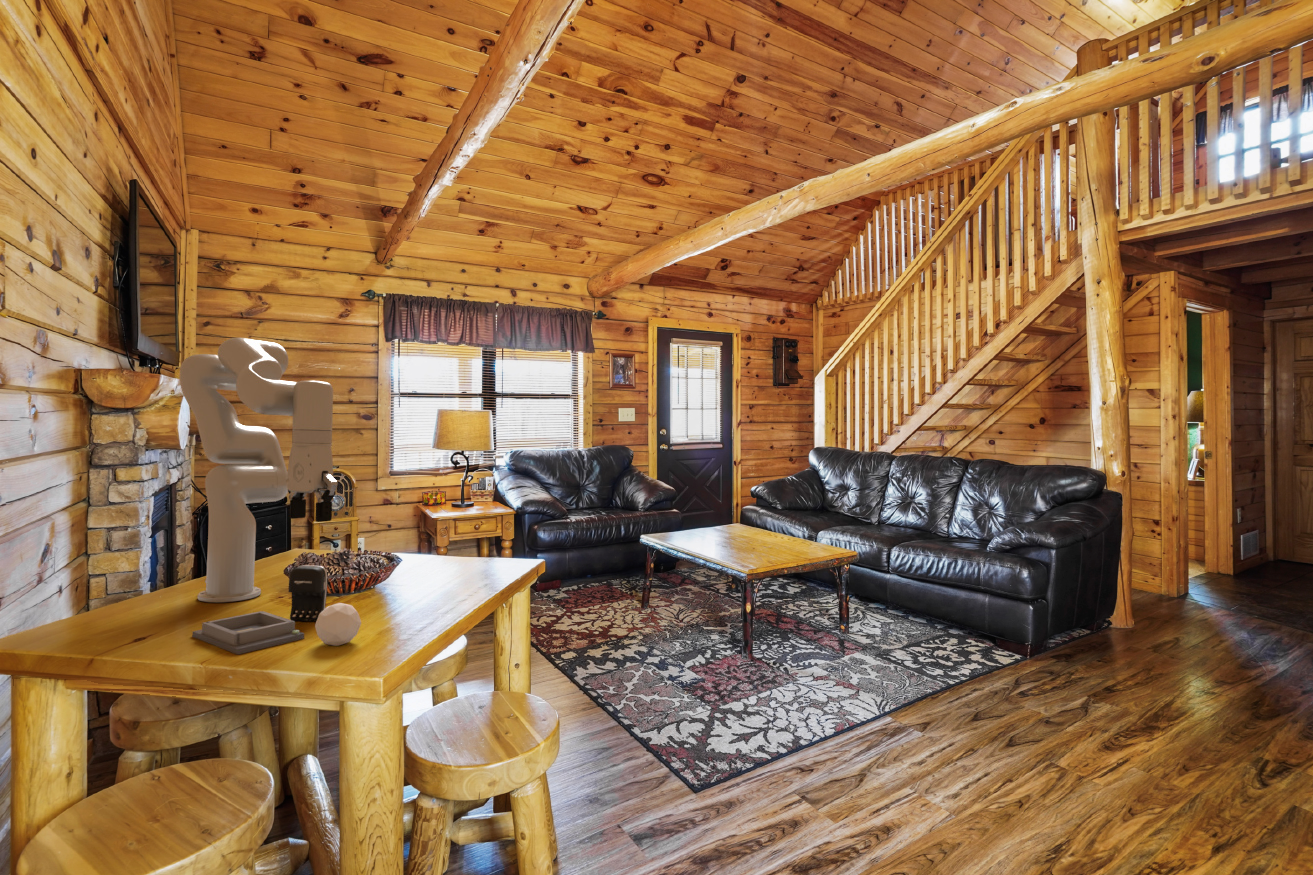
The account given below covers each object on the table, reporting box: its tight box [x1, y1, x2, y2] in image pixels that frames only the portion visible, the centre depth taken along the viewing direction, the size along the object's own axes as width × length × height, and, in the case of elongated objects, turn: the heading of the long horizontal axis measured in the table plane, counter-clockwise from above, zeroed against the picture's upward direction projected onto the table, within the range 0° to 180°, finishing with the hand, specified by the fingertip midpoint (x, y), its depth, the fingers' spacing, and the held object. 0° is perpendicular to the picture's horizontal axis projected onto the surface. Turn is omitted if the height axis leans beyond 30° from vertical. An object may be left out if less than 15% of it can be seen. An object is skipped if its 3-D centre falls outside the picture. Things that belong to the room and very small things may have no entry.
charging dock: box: [191, 610, 305, 655], centre depth 125 cm, size 17×12×3 cm
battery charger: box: [287, 564, 328, 622], centre depth 138 cm, size 7×4×11 cm, turn 91°
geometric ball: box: [314, 602, 362, 647], centre depth 124 cm, size 8×8×8 cm
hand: (310, 519), depth 138 cm, fingers open, 9 cm apart
